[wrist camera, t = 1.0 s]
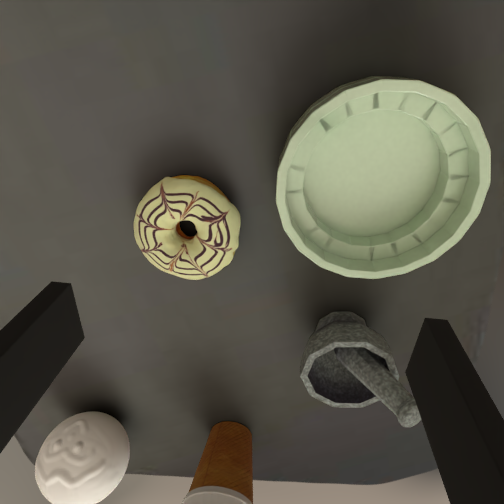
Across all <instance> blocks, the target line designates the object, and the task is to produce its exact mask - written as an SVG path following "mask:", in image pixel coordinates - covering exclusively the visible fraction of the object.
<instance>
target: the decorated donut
mask: <svg viewBox="0 0 504 504" xmlns="http://www.w3.org/2000/svg"><path fill="white" fill-rule="evenodd" d="M240 218H241V217H240V214H239V211H238V210H237V208H236V207H235V206H234V205H233V204H232V203H230V201H229V199H228V198H227V197H226V196H225V195H224V193H223V192H222V191H221V190H220V189H219V188H218V187H216V186H215V185H214V184H213V183H211V182H210V181H208V180H207V179H204V178H202V177H199V176H189V175H179V176H175V177H165V178H164V179H162V180H161V181H160V182H159V183H157V184H156V185H154V186H153V187H152V188H151V189H150V190H149V191H148V192H147V194H146V195H145V196H144V197H143V199H142V200H141V201H140V203H139V205H138V207H137V210H136V215H135V219H134V236H135V239H136V242H137V244H138V245H139V247H140V249H141V251H142V253H143V254H144V255H145V257H146V258H147V259H148V261H149V262H151V263H152V264H153V265H154V266H156V267H157V268H159V269H160V270H162V271H164V272H167V273H169V274H172V275H176V276H179V277H181V278H185V279H191V280H199V279H202V278H205V277H210V276H212V275H214V274H215V273H217V272H219V271H220V270H221V269H222V268H223V267H225V266H227V265H228V264H230V262H231V261H232V259H233V256H234V254H235V250H236V249H237V248H238V246H239V242H238V239H239V237H238V235H239V229H240V225H241V221H240ZM184 220H189V221H191V222H193V223H194V225H195V228H196V230H197V232H198V233H197V234H196V235H195V236H192V237H188V236H186V235H185V234H184V233H183V232H182V231H181V230H180V229H181V228H180V227H179V226H180V225H179V222H180V221H184Z"/></svg>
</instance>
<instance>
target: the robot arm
mask: <svg viewBox="0 0 504 504" xmlns="http://www.w3.org/2000/svg"><path fill="white" fill-rule="evenodd" d="M84 338H85V337H84V333H83V329H82V326H81V322H80V318H79V314H78V310H77V306H76V302H75V298H74V294H73V290H72V286H71V283H61V282H51V283H50V284H49V285H48V286H46V287H45V288H44V289H43V290H42V291H41V292H40V293H39V294H38V295H37V296H36V297H35V298H34V299H33V300H32V301H31V302H30V303H29V304H28V305H27V306H26V307H24V308H23V309H22V310H21V311H20V312H19V313H18V314H17V315H16V316H15V317H14V318H13V319H12V320H11V321H10V322H9V323H8V324H7V325H6V326H5V327H4V328H3V329H1V330H0V453H1V452H2V450H3V449H4V448H5V446H6V445H7V443H8V442H9V441H10V439H11V437H12V436H13V435H14V434H15V432H16V431H17V430H18V428H19V427H20V426H21V424H22V423H23V422H24V420H25V419H26V417H27V416H28V415H29V413H30V412H31V411H32V409H33V408H34V406H35V405H36V404H37V402H38V401H39V400H40V398H41V397H42V395H43V394H44V393H45V391H46V390H47V389H48V387H49V386H50V384H51V383H52V382H53V380H54V379H55V378H56V376H57V375H58V374H59V372H60V371H61V369H62V368H63V367H64V365H65V364H66V363H67V361H68V360H69V358H70V357H71V356H72V354H73V353H74V352H75V350H76V349H77V347H78V346H79V345H80V343H81V342H82V341H83V339H84ZM405 373H406V376H407V378H408V381H409V384H410V387H411V390H412V393H413V396H414V399H415V402H416V405H417V408H418V411H419V413H420V416H421V419H422V422H423V425H424V428H425V431H426V434H427V437H428V440H429V443H430V446H431V449H432V451H433V454H434V457H435V460H436V463H437V466H438V469H439V472H440V475H441V478H442V481H443V484H444V487H445V489H446V492H447V495H448V498H449V501H450V504H504V420H503V418H502V416H501V414H500V413H499V411H498V409H497V407H496V406H495V404H494V402H493V400H492V399H491V397H490V395H489V393H488V391H487V390H486V388H485V386H484V384H483V383H482V381H481V379H480V377H479V375H478V374H477V372H476V370H475V368H474V367H473V365H472V363H471V361H470V359H469V358H468V356H467V354H466V352H465V351H464V349H463V347H462V345H461V343H460V342H459V340H458V338H457V336H456V335H455V333H454V331H453V329H452V327H451V326H450V324H449V322H448V320H442V319H431V318H425V319H424V322H423V325H422V328H421V331H420V333H419V336H418V339H417V342H416V344H415V347H414V350H413V353H412V355H411V358H410V361H409V364H408V367H407V369H406V372H405Z"/></svg>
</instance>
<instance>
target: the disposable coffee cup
mask: <svg viewBox="0 0 504 504" xmlns="http://www.w3.org/2000/svg"><path fill="white" fill-rule="evenodd" d="M252 470H253V469H252V434H251V432H250V431H249V429H248V428H246V427H245V426H243V425H241V424H239V423H236V422H230V421H226V422H220V423H217V424H216V425H214V426H213V427H212V429H211V432H210V435H209V438H208V441H207V443H206V446H205V449H204V452H203V454H202V457H201V460H200V462H199V465H198V468H197V470H196V473H195V476H194V479H193V482H192V484H191V487H190V490H189V493H188V494H187V495H186V497H185V498H184V500H183V501H182V504H253V484H252V482H253V479H252V477H253V476H252Z"/></svg>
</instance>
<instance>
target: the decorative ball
mask: <svg viewBox="0 0 504 504" xmlns="http://www.w3.org/2000/svg"><path fill="white" fill-rule="evenodd" d="M129 456H130V445H129V439H128V436H127V433H126V431H125V429H124V427H123V426H122V425H121V424H120V422H119V421H118V420H116V419H115V418H114V417H112V416H110V415H108V414H106V413H102V412H95V411H91V412H83V413H79V414H76V415H74V416H72V417H70V418H68V419H66V420H64V421H63V422H62V423H60V424H59V425H58V426H57V427H56V428H55V429H54V430H53V431H52V432H51V433H50V434H49V435H48V437H47V438H46V440H45V441H44V443H43V445H42V447H41V449H40V451H39V454H38V456H37V459H36V464H35V475H36V476H35V477H36V482H37V484H38V487H39V489H40V490H41V492H42V494H43V495H44V497H45V498H46V499H47V500H48V501H50V502H51V503H52V504H96V503H98V502H100V501H101V500H103V499H104V498H105V497H107V496H108V495H109V494H110V493H111V492H112V491H113V490H114V489H115V488H116V486H117V485H118V484H119V482H120V481H121V479H122V477H123V475H124V473H125V471H126V468H127V465H128V462H129Z"/></svg>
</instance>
